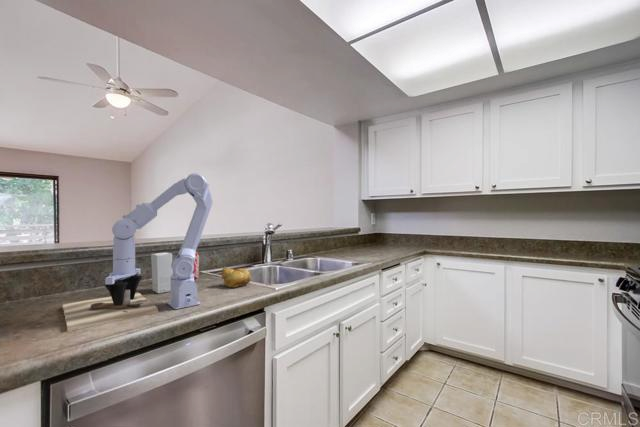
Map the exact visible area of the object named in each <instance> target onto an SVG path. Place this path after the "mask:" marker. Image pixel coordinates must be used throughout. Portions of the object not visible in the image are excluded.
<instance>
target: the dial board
mask: <svg viewBox="0 0 640 427" xmlns="http://www.w3.org/2000/svg"><path fill="white" fill-rule="evenodd" d="M94 303H113V300H112V297H111V296H106V297H104V296H103V297H99V298H93V299H92V298H91V299H88V300H81V301H75V302H69V303H62V312H63V311H64V312H63V316H65V317H64V321H65V326H66V330H67V332H72V331H77V330H80V329H81V330H82V329H85V328H90V327H96V326H101V325H105V324H109V323H114V322H119V321H123V320H129V319H133V318H137V317H142V316H147V315H152V314H156V313H159V308H158V306H156V305H155V304H154V303H152V301H149V300H148V299H147V298H146V297H145V296H143V295H142V294H141V293H140V292H137V291H136V292H135V296H134V299H133V300H130V304H140V307H126V308H99V309H91V304H94Z"/></svg>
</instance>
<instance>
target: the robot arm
mask: <svg viewBox="0 0 640 427" xmlns="http://www.w3.org/2000/svg"><path fill="white" fill-rule="evenodd" d="M187 193H188V194H189V195H190V196H191V197H192V199H193V200H194V202H195V203H196V206H195V208H194V211H193V214H192V217H191V220H190V222H189V225H188V228H187V231H186V233H185V237H184V239H183V241H182V244H181V247H180V249H179V251H178V253H177V256H175V257H174V258H173V259H172V264H171V267H172V270H173V275H172V276H171V292H170V300H168V301H166V304H167V305H168V306H170V307H172V308H173V309H174V310H179V309H183V308H184V309H185V308H187V307H193V306H197V305H198V306H199V305H200V304H201V302H200V301H199V300H198V284H197V283H196V282H195V281H194V274H193V271H194V259H195V253H196V252H197V249H198V246H199V243H200V240H201V238H202V234H203V231H204V228H205V227H206V223H207V219H208V218H209V215H210V211H211V208H212V206H213V198H212V194H211V190H210V184H209V182H208V181H207V180H206V178H205V177H204V176H203V175H202V174H200V173H197V172H194V173H190V174H189V175H188V176H187V177H186V178H185V177H184V178H182V179H180V180H178V181H177V182H175V183H173V184H172V185H171V186H170V187H168V188H167V189H166V190H164V191H163V192H162V193H161V194H160V195H158V196H157V197H156V198H154V200H152V201H151V202H142V203H141V204H140V203H138V204H136V205H135V206H134V207H135V208H134V209H133V210H132V211H130V212H129V213H127V214H124V215H122V216H121V217H122V219H119V220H117V221H116V222H115V223H114V224H113V226H112V227H111V228H112V230H111V231H112V234H113V240H112V241H113V244H112V272H110V273H108V274H109V276H107V277H105V278H104V279H105V281H104V288H106V289H107V291H108V293H109V294H110V297H112V300H113V303H114V306H121V305H123V301H124V293H125V290H127V289H128V290H130V300H133V299H134V296H135V292H137V289H138V286H139V283H140V282H141V280H142V279H143V278H142V275H140V274H141V268H140V267H139V268H137V267H136V243H135V233H136V232H137V230H141V229H142V228H143V227H145V226H146V225H147V224H149V223H151V221H153V220H154V219H155V218H156V217H157V216H158V210H159V209H161V208H162V207H163V206H165V205H166V204H168V203H169V202H170V201H171V200H174V199H175V198H176V197H177V196H180V195H185V194H187Z"/></svg>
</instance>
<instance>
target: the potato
mask: <svg viewBox="0 0 640 427" xmlns="http://www.w3.org/2000/svg"><path fill="white" fill-rule="evenodd" d="M221 278H222V280H223V282H224V285H225V286H226V287H227V288H238V287H242V286H243V287H244V286H246V285H248V284H249V283H250V282H251V279H252V276H251V273H250V271H249V270H248V269H247V268H244V267H243V268H236V269H233V268H231V267H226V266H225V267H223V268H222V269H221Z"/></svg>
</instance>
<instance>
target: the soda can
mask: <svg viewBox="0 0 640 427" xmlns="http://www.w3.org/2000/svg"><path fill="white" fill-rule="evenodd" d="M198 253H199V251H196V253H195V259H194V271H193V274H194V281H195V283H196V282H197V281H198V280H199V279H200V278H199V277H200V276H199V275H200V274H199V273H200V271H199V270H200V255H199V254H198Z"/></svg>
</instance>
